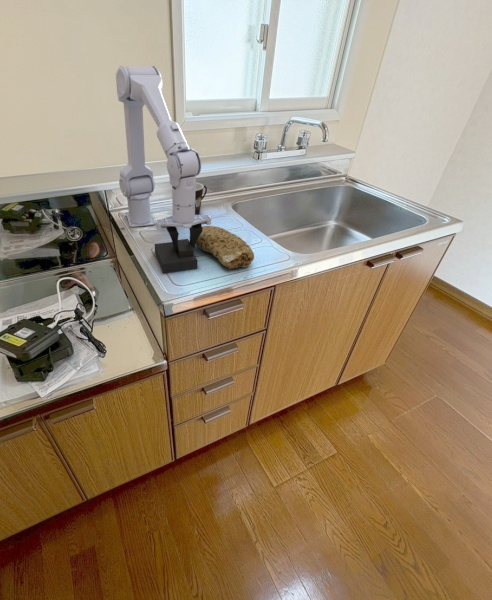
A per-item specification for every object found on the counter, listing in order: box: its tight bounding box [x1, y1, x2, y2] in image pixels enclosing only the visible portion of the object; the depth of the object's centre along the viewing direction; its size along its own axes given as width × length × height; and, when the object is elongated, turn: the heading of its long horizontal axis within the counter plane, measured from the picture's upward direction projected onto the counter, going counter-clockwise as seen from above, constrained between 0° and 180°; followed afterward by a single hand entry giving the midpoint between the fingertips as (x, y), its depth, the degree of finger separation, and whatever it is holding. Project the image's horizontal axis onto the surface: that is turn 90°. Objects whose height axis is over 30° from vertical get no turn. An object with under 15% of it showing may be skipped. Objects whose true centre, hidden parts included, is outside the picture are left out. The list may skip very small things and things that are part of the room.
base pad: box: [154, 241, 198, 274], centre depth 89 cm, size 11×10×3 cm
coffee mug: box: [195, 182, 208, 215], centre depth 112 cm, size 12×9×10 cm
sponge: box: [195, 225, 255, 270], centre depth 91 cm, size 13×8×20 cm
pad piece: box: [177, 238, 195, 258], centre depth 88 cm, size 6×4×3 cm, turn 18°
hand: (183, 249), depth 88 cm, fingers closed on pad piece, 4 cm apart
